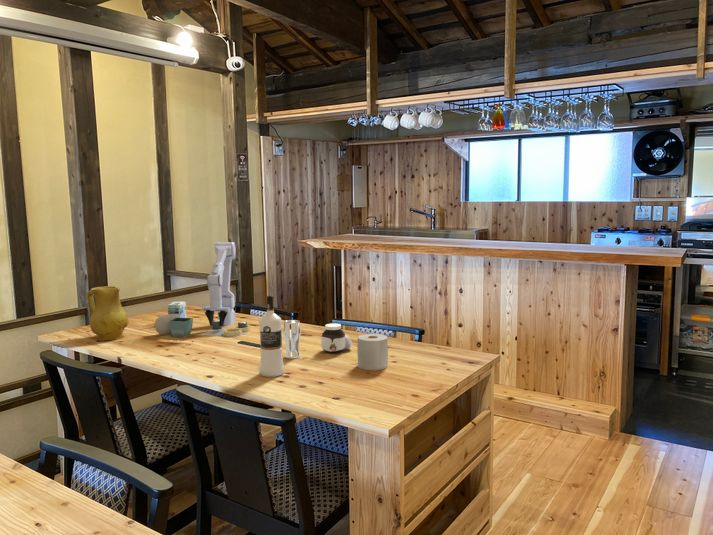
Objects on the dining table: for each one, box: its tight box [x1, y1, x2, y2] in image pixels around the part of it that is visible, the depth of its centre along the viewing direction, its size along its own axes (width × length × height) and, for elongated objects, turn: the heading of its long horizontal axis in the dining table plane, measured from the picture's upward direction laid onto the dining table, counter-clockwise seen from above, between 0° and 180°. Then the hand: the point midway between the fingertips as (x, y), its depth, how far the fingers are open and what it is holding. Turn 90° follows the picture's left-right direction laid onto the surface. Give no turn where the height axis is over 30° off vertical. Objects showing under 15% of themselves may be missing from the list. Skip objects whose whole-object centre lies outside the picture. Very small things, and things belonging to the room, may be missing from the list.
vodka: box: [258, 295, 285, 378], centre depth 215 cm, size 9×9×30 cm
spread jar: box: [320, 323, 353, 355], centre depth 249 cm, size 12×11×12 cm
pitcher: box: [86, 285, 130, 342], centre depth 277 cm, size 17×19×25 cm
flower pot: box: [169, 317, 194, 338], centre depth 275 cm, size 9×9×9 cm
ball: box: [154, 314, 174, 336], centre depth 281 cm, size 10×10×10 cm
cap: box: [211, 319, 223, 330], centre depth 283 cm, size 5×5×4 cm
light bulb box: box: [167, 301, 188, 318], centre depth 309 cm, size 11×7×11 cm, turn 179°
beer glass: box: [283, 319, 301, 360], centre depth 240 cm, size 7×7×15 cm
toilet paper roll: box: [357, 333, 389, 371], centre depth 226 cm, size 12×12×12 cm
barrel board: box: [200, 321, 251, 338], centre depth 281 cm, size 16×20×5 cm
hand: (216, 325), depth 283 cm, fingers closed on cap, 5 cm apart
